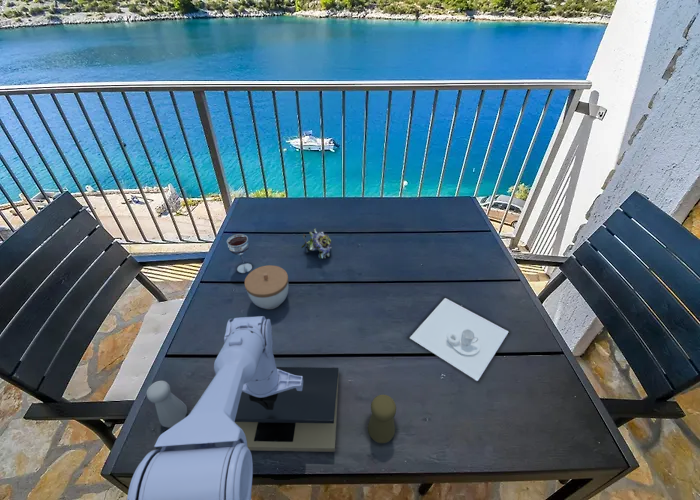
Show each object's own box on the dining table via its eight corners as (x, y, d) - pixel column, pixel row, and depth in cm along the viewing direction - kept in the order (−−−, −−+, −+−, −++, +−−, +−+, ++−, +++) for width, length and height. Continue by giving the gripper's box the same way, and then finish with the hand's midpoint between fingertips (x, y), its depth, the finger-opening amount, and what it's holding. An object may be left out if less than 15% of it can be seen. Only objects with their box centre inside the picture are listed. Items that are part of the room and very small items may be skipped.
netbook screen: (333, 424, 69) (333, 420, 69) (203, 422, 70) (203, 418, 69) (338, 370, 86) (338, 367, 86) (234, 369, 87) (234, 366, 87)
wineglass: (243, 259, 123) (235, 232, 116) (258, 264, 121) (252, 237, 113) (230, 271, 118) (222, 243, 111) (246, 276, 116) (238, 248, 109)
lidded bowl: (296, 308, 105) (292, 282, 98) (254, 321, 101) (246, 294, 94) (285, 281, 114) (281, 256, 107) (246, 292, 110) (239, 266, 103)
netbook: (334, 451, 73) (334, 448, 72) (212, 449, 74) (210, 445, 73) (338, 374, 88) (338, 370, 86) (236, 373, 88) (234, 369, 87)
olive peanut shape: (372, 446, 74) (373, 421, 67) (364, 418, 79) (365, 393, 72) (398, 439, 75) (403, 414, 68) (389, 412, 80) (393, 386, 73)
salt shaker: (184, 432, 77) (163, 402, 69) (158, 431, 77) (135, 401, 69) (193, 406, 81) (175, 375, 73) (169, 406, 82) (149, 375, 73)
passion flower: (327, 267, 128) (329, 259, 116) (298, 262, 127) (297, 253, 116) (332, 238, 131) (335, 228, 120) (304, 233, 130) (303, 222, 119)
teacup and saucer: (442, 343, 95) (444, 333, 92) (456, 325, 99) (458, 316, 97) (472, 361, 90) (475, 352, 88) (485, 342, 95) (489, 332, 92)
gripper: (302, 348, 65) (308, 387, 74) (225, 347, 66) (240, 386, 74) (297, 382, 60) (304, 420, 68) (213, 381, 60) (231, 419, 69)
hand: (270, 404), depth 71 cm, fingers closed
